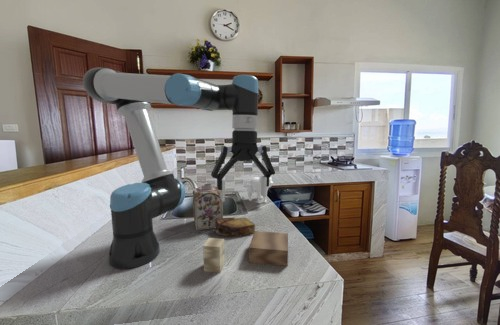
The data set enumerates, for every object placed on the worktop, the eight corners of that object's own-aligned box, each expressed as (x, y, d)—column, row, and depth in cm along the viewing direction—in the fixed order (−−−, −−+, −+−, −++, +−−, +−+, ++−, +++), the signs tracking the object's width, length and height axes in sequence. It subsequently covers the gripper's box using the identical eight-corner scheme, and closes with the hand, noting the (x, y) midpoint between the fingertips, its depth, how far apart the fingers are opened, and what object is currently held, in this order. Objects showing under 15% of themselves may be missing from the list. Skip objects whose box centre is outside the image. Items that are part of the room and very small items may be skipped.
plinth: (249, 262, 73) (249, 247, 72) (254, 244, 84) (254, 231, 84) (287, 265, 71) (287, 250, 70) (287, 246, 83) (287, 233, 82)
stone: (249, 225, 101) (249, 214, 101) (255, 234, 93) (255, 222, 92) (215, 229, 97) (214, 218, 96) (218, 239, 88) (218, 227, 88)
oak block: (203, 271, 68) (203, 245, 67) (209, 261, 73) (208, 237, 72) (220, 272, 68) (219, 247, 66) (224, 263, 72) (224, 239, 71)
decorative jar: (218, 217, 110) (218, 180, 108) (223, 227, 99) (223, 186, 97) (193, 220, 106) (191, 182, 104) (195, 231, 95) (193, 188, 93)
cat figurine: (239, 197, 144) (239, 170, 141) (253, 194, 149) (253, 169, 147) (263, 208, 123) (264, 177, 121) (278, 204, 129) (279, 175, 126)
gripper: (205, 129, 62) (206, 205, 65) (287, 130, 70) (284, 198, 73) (201, 129, 69) (201, 198, 72) (276, 130, 77) (273, 191, 80)
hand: (243, 198), depth 73 cm, fingers open, 13 cm apart
